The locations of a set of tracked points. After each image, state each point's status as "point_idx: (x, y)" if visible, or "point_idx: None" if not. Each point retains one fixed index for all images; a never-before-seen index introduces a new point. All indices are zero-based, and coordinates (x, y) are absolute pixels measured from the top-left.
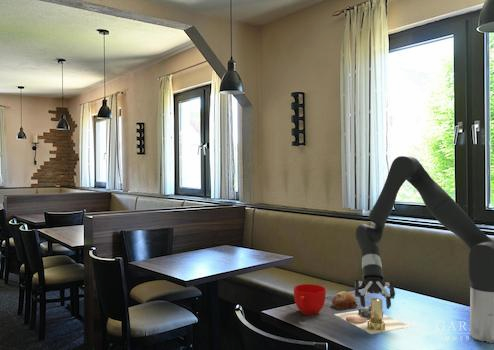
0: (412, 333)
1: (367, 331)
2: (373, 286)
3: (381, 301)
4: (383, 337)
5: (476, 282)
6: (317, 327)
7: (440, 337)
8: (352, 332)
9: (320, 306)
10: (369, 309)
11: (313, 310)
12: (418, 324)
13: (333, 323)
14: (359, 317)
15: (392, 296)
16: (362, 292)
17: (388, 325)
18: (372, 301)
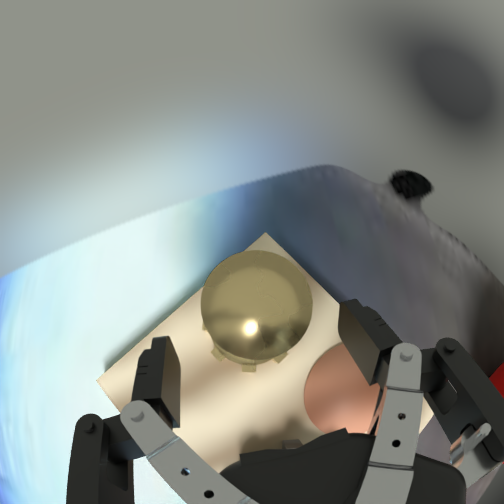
0: (100, 350)
1: (285, 256)
2: (323, 486)
3: (210, 276)
4: None
5: None
6: (451, 279)
7: (29, 329)
8: (344, 278)
9: None
10: None
11: (495, 371)
12: None
13: (423, 347)
14: (340, 425)
15: (107, 418)
16: (411, 367)
17: (191, 372)
18: (291, 267)
